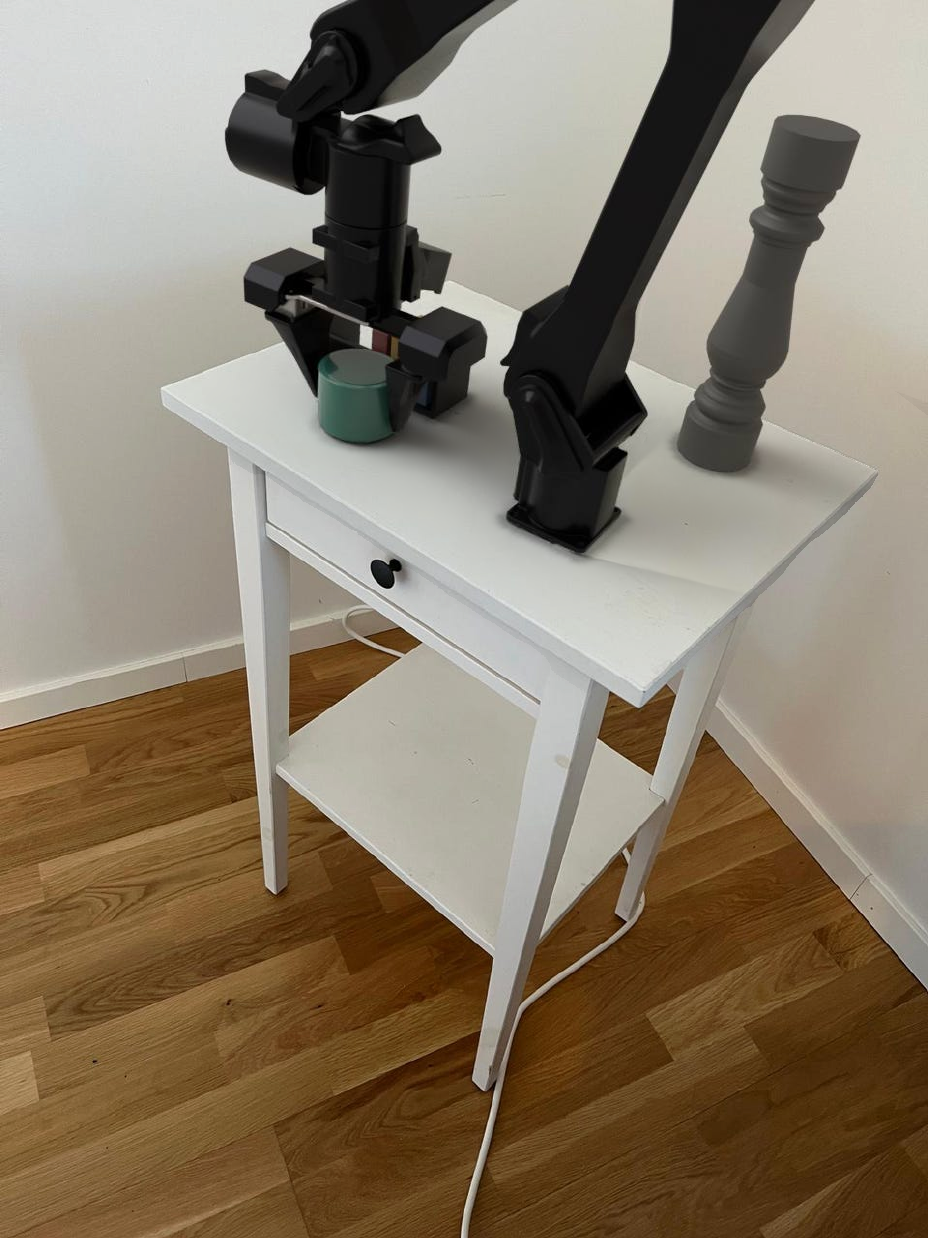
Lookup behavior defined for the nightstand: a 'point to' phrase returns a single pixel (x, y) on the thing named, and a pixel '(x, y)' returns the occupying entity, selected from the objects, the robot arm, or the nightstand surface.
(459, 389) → the rack
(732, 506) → the nightstand surface
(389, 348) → the books
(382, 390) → the green glass jar
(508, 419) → the nightstand surface
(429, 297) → the nightstand surface
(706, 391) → the candle holder
